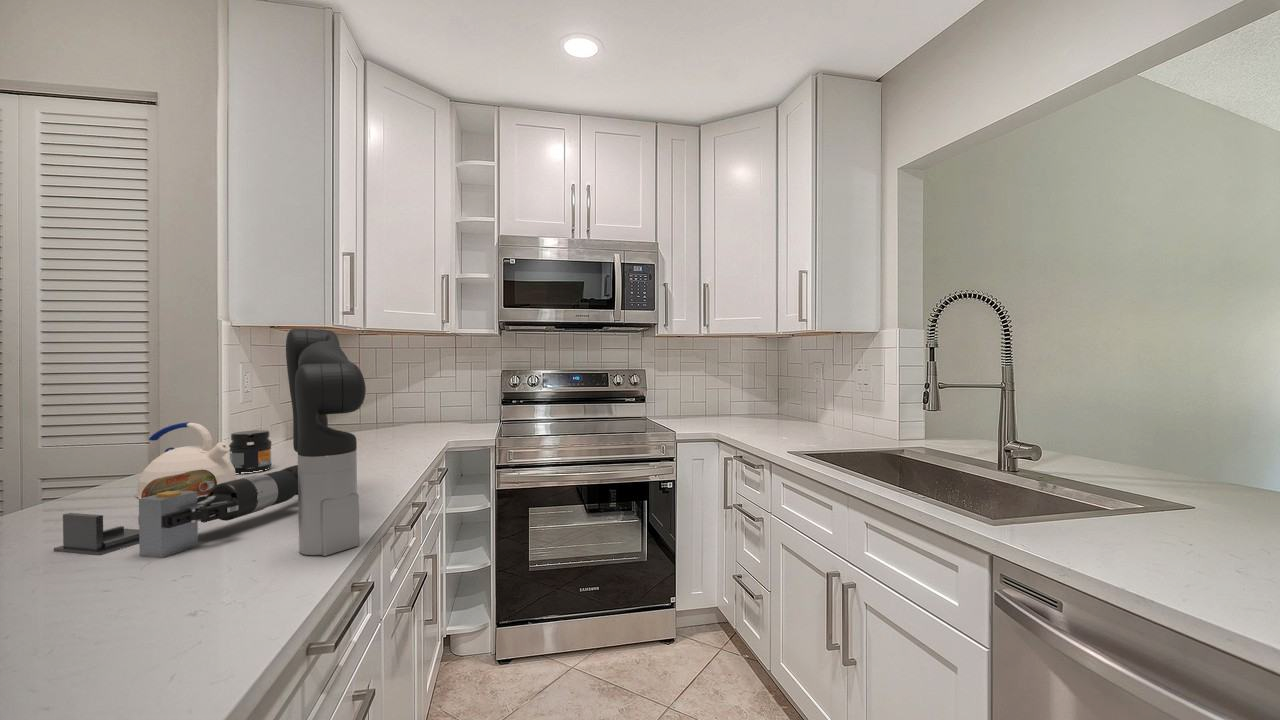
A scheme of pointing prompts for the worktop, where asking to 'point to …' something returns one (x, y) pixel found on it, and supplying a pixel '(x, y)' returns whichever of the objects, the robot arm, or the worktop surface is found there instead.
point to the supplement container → (250, 451)
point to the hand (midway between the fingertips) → (153, 521)
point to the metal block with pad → (152, 528)
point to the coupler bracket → (93, 535)
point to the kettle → (189, 459)
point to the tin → (182, 483)
